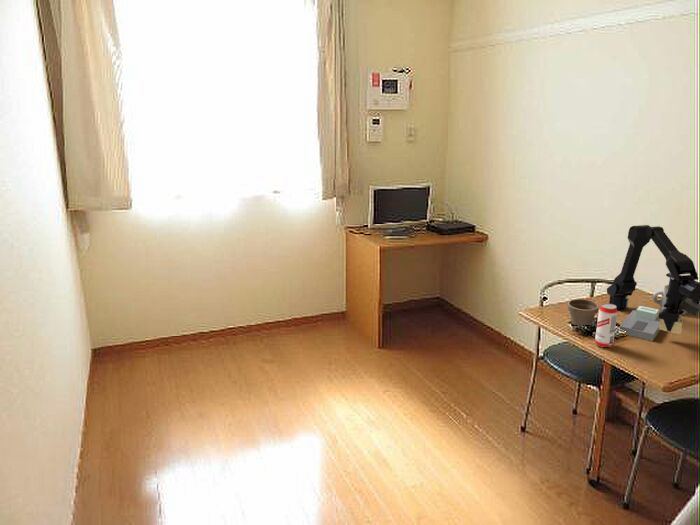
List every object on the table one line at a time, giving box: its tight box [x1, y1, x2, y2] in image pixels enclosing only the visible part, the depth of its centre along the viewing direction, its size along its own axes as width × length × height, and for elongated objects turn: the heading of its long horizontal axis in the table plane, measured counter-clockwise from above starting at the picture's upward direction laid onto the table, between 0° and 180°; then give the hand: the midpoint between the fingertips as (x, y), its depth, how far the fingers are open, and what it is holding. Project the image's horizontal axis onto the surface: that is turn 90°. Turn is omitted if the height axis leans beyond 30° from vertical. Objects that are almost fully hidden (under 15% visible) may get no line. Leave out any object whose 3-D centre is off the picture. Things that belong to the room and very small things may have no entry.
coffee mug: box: [652, 284, 689, 315], centre depth 229 cm, size 13×10×10 cm
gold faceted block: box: [659, 319, 684, 335], centre depth 201 cm, size 2×7×5 cm, turn 49°
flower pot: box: [567, 298, 600, 326], centre depth 216 cm, size 12×11×10 cm
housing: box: [619, 309, 661, 342], centre depth 214 cm, size 12×20×3 cm, turn 140°
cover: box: [636, 305, 660, 321], centre depth 217 cm, size 7×5×3 cm
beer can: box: [594, 302, 619, 348], centre depth 199 cm, size 6×6×16 cm
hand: (669, 329), depth 202 cm, fingers closed on gold faceted block, 2 cm apart
